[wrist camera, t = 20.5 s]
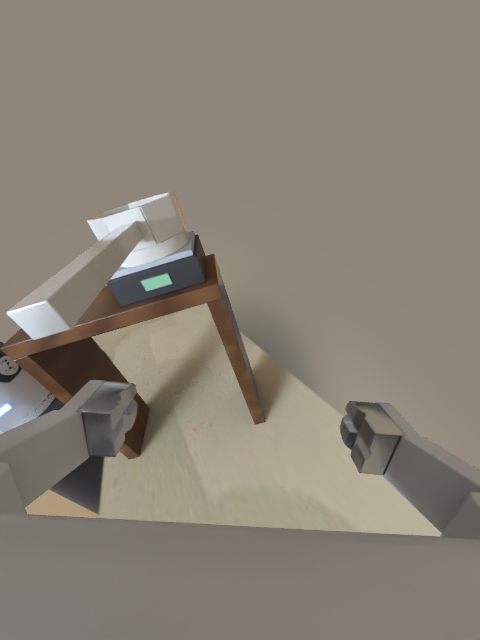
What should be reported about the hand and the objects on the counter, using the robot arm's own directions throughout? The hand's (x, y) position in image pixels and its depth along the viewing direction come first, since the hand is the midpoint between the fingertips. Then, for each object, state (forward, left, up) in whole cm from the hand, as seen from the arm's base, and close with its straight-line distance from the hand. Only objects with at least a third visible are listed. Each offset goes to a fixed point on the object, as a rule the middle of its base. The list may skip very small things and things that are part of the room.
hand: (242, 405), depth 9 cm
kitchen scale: (-5, +17, -1) cm, 18 cm away
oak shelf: (-10, +17, -23) cm, 30 cm away
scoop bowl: (-5, +11, +2) cm, 13 cm away
